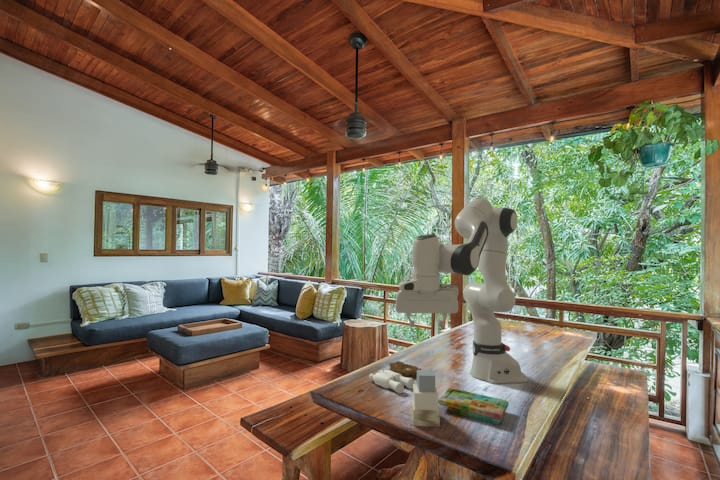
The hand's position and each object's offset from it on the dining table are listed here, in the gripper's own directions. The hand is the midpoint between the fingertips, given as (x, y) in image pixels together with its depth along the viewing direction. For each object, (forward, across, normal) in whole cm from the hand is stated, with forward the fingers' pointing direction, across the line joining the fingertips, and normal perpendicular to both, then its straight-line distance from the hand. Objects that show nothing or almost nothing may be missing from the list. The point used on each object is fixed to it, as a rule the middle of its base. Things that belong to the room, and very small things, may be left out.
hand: (426, 326), depth 113 cm
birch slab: (+29, +1, +3) cm, 29 cm away
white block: (+24, +1, +3) cm, 24 cm away
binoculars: (+29, +12, -24) cm, 40 cm away
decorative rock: (+30, +6, -37) cm, 48 cm away
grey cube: (+19, +1, +3) cm, 19 cm away
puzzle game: (+30, -16, -4) cm, 34 cm away
